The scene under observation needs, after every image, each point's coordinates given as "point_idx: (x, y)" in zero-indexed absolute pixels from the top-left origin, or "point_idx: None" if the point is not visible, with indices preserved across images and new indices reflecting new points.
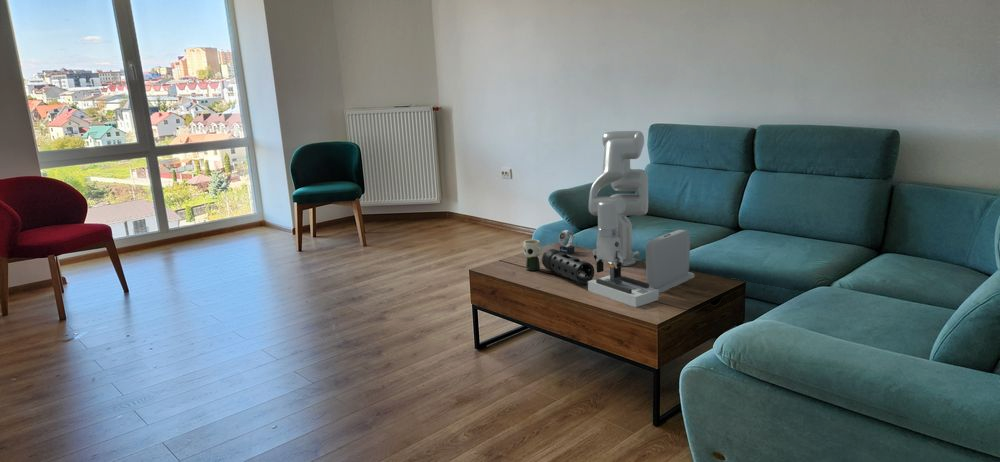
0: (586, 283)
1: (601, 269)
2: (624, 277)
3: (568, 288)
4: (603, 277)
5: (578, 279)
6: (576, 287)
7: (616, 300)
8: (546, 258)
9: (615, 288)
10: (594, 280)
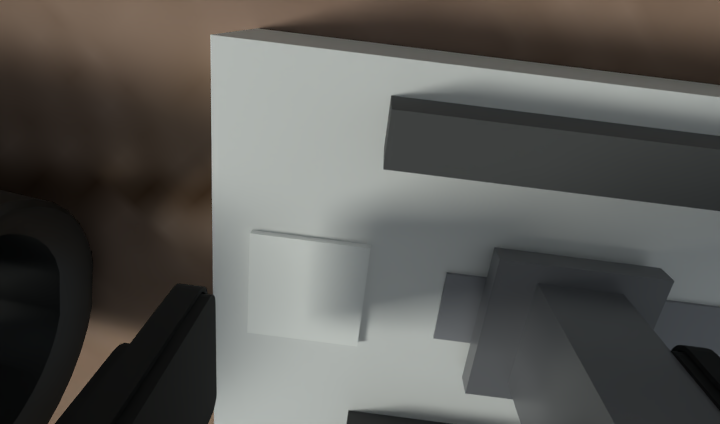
0: (90, 267)
1: (199, 364)
2: (689, 198)
3: (65, 403)
4: (254, 240)
5: (47, 406)
6: (86, 346)
7: None
8: None
9: None
10: (250, 384)
